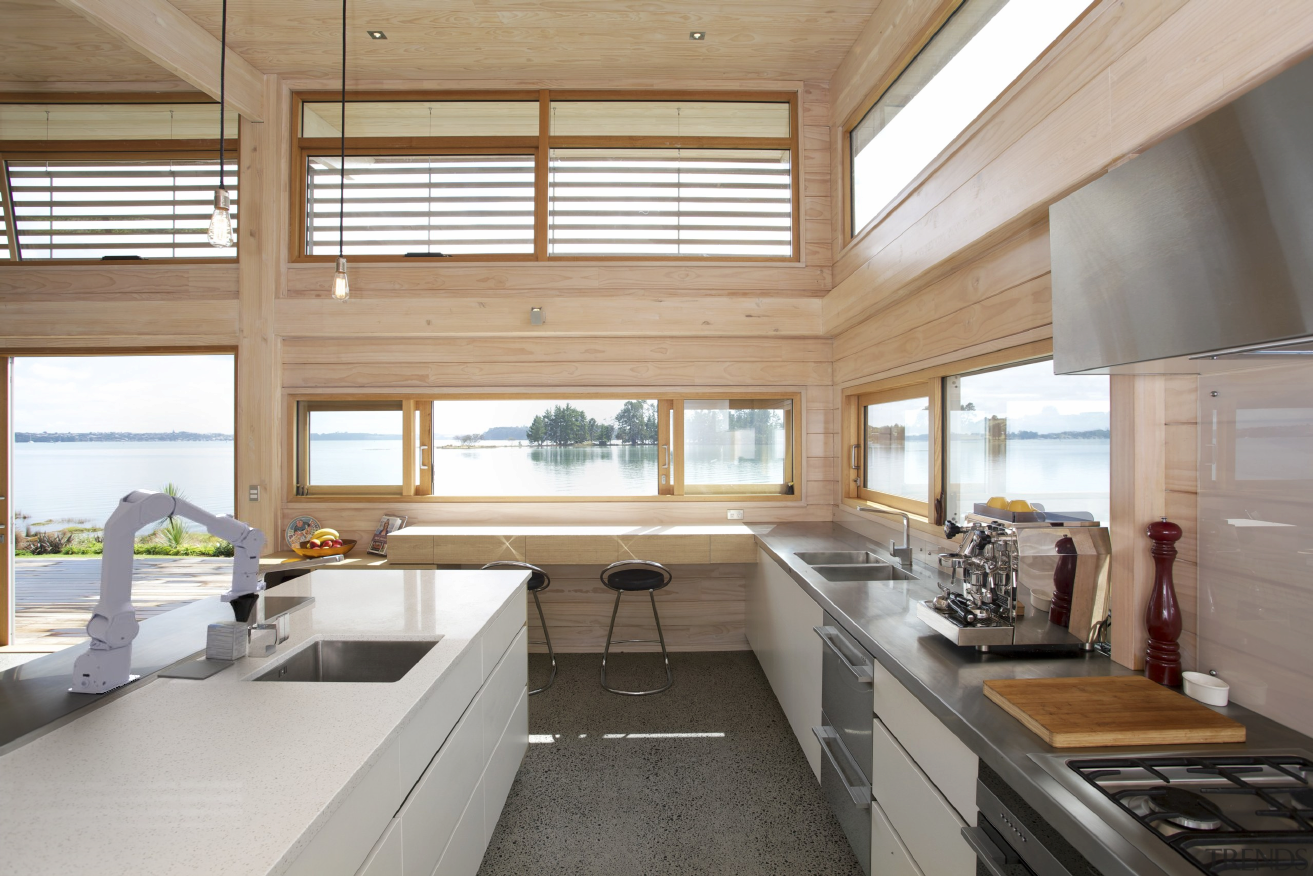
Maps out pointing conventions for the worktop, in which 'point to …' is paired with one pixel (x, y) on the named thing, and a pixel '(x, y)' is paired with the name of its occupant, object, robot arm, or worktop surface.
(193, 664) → the grey rubber pad
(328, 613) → the worktop surface
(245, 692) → the worktop surface
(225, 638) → the medicine box
